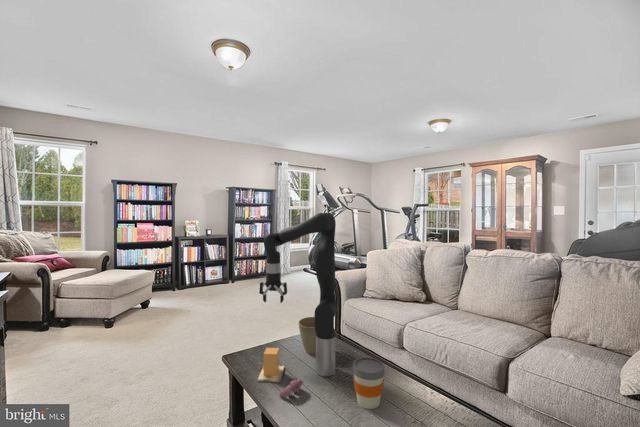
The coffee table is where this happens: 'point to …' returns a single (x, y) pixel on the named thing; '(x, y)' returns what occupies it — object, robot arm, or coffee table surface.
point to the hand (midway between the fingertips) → (273, 302)
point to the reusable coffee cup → (368, 381)
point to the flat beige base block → (271, 378)
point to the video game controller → (291, 388)
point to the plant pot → (308, 334)
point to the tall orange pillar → (271, 361)
